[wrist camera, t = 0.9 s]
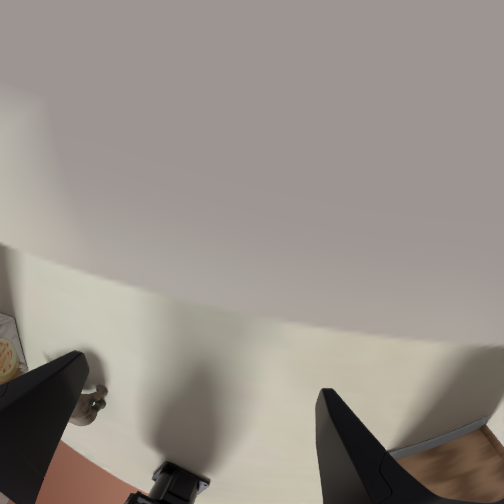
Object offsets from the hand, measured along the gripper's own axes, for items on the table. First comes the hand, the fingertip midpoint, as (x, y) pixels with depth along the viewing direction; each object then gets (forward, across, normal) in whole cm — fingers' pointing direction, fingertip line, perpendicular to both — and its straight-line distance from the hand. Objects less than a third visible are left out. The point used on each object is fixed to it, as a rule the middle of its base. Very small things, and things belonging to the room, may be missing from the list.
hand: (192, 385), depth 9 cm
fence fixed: (+8, -27, +22) cm, 36 cm away
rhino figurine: (+13, +21, +21) cm, 32 cm away
